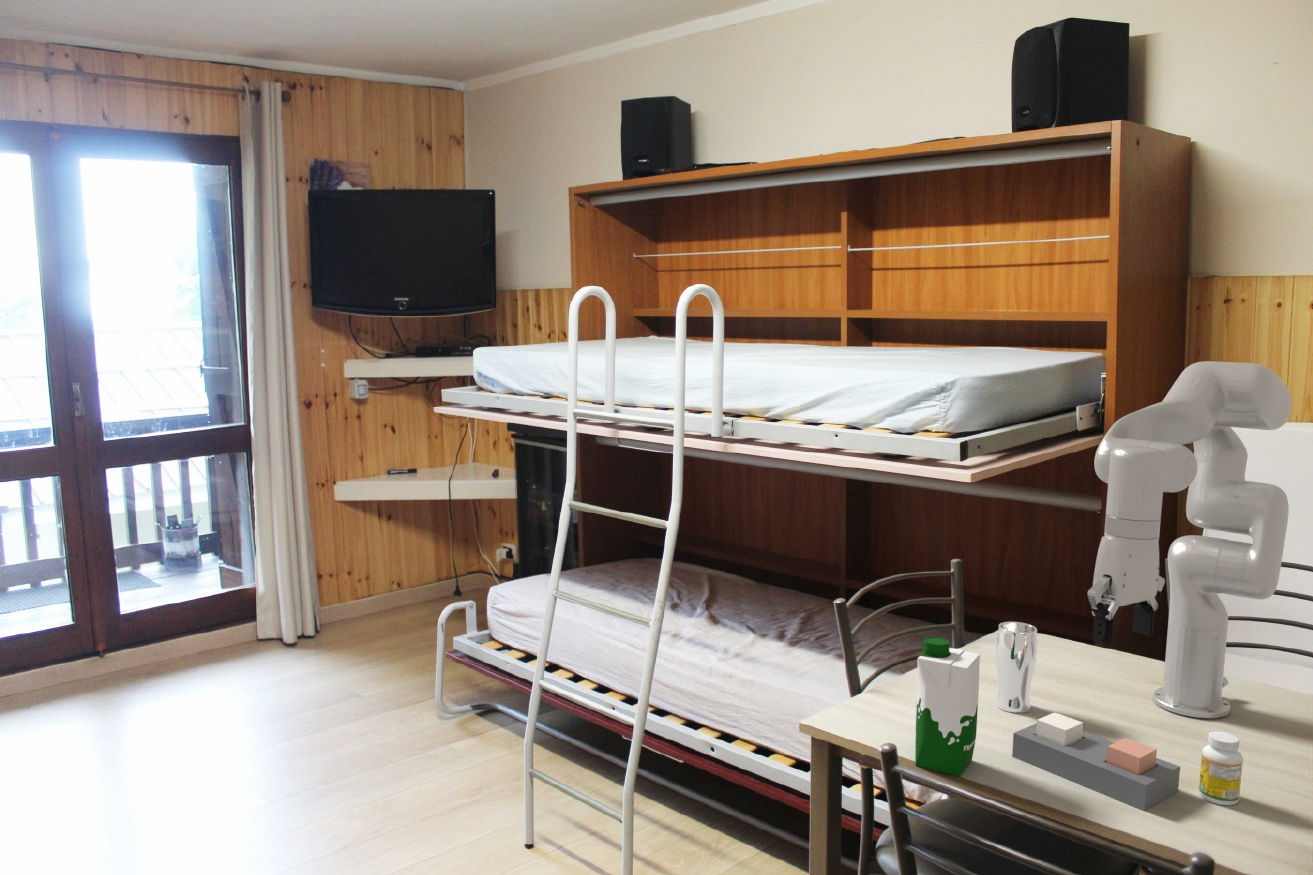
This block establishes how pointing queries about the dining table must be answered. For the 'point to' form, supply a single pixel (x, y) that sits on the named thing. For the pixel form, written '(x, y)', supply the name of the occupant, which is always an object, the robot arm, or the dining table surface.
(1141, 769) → the terracotta key
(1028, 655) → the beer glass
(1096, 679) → the dining table surface
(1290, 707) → the dining table surface
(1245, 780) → the dining table surface
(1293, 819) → the dining table surface
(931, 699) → the milk carton
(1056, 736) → the off-white key
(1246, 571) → the robot arm
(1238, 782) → the supplement bottle
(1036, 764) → the key panel
